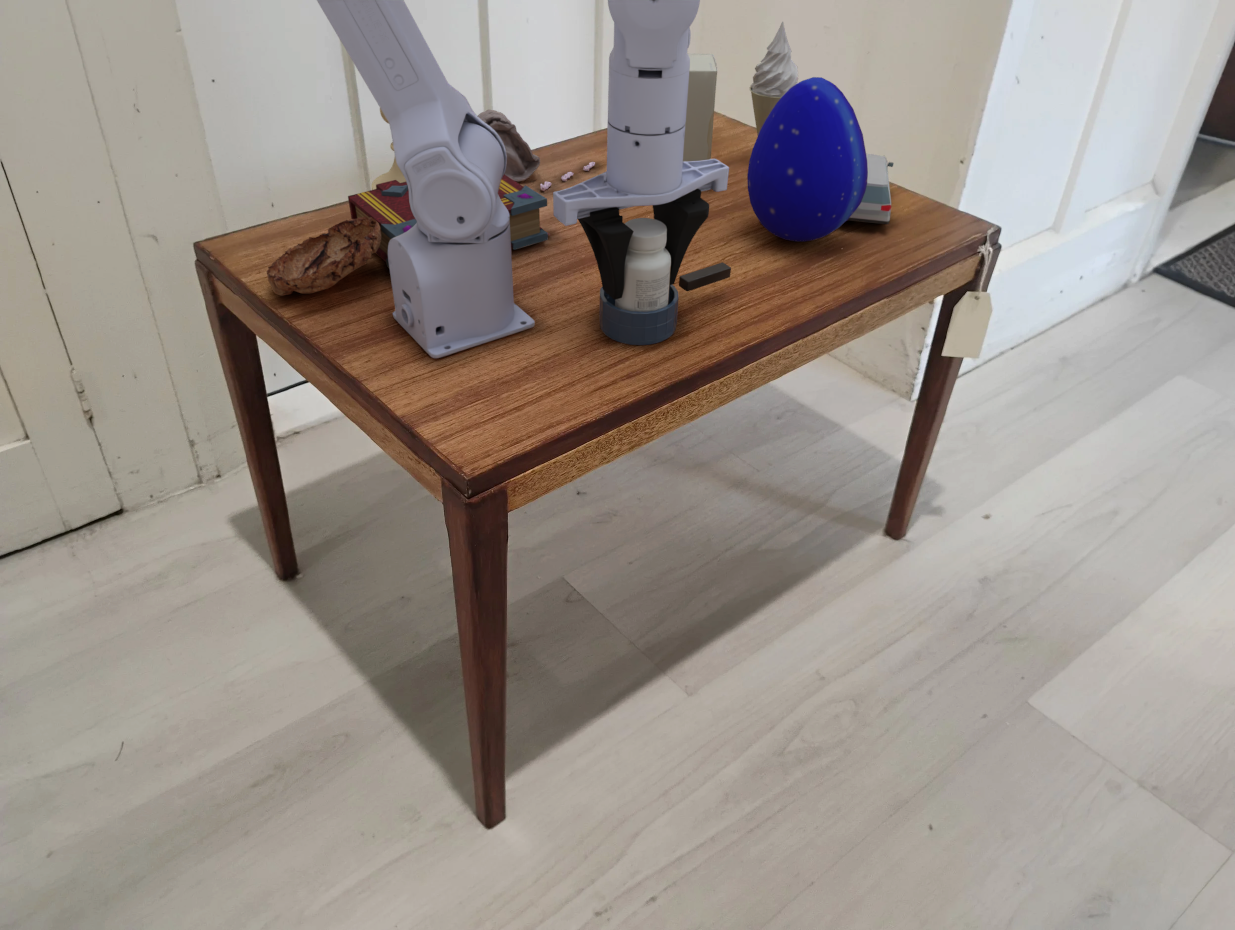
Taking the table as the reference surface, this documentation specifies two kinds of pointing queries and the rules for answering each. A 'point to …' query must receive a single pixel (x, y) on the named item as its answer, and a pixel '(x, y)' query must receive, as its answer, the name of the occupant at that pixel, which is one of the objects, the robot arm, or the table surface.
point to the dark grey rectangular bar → (704, 276)
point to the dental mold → (512, 146)
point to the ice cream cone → (773, 77)
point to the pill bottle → (646, 267)
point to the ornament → (808, 163)
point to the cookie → (325, 257)
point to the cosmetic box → (700, 107)
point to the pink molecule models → (566, 176)
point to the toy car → (875, 193)
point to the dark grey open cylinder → (638, 321)
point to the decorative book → (397, 218)
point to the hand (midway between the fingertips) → (638, 286)
